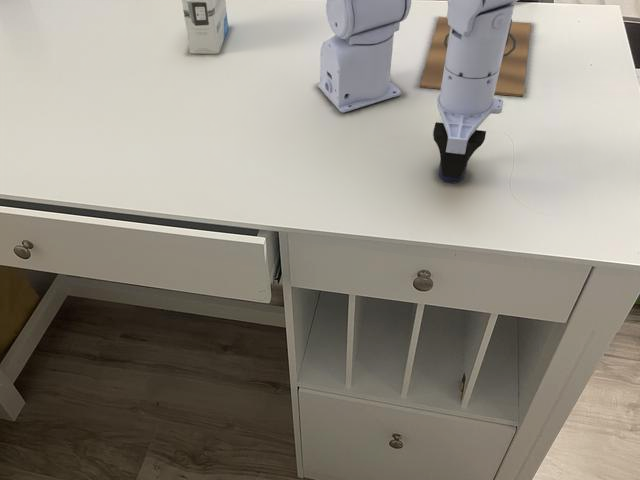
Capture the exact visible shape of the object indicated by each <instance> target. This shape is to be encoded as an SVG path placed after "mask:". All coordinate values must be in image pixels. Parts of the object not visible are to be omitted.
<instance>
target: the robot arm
mask: <svg viewBox="0 0 640 480" xmlns="http://www.w3.org/2000/svg"><path fill="white" fill-rule="evenodd" d="M446 1H447V13H446V18H447V19H448V25H449V26H451V28H450V34H449V40H448V47H447V53H446V60H445V66H444V72H443V79H442V85H441V89H440V92H439V95H438V96H437V100H436V108H437V112H438V114H439V117H440V119H441V121H442V122H435V123H434V126H433V131H432V136H433V141H434V142H435V144H436V146H437V148H438V152H439V157H440V158H439V159H440V160H441V171H442V176H444V177H452V178H460V177H461V175H462V173H463V171H464V169H465V167H466V165H467V166H468V164H469V161H470V158H471V157H472V155H473V154H475V152H476V151H477V150H478V149H479V148H480V147H481V146H482V145H483V143H484V142H485V140H486V134H487V131H486V130H481V129H480V130H479V128H480V126H481V125H482V124H483V123H484V122H485V121H486V119H487V118H488V117H489V116H490V115H492V114H493V115H499V114H501V113H502V112H503V108H504V100H503V99H502V98H498V97H495V94H494V93H495V89H496V84H497V80H498V75H499V71H500V67H501V62H502V58H503V54H504V49H505V45H506V40H507V36H508V31H509V27H510V23H511V18H512V17H513V13H514V9H515V3H516V2H518V1H519V0H446ZM411 6H412V0H326V2H325V10H326V18H327V22H328V25H329V27H330V29H331V31H332V33H333V34H334V35H333V36H332V37H330V38H328V39H326V40H323V42H322V43H321V46H320V55H319V56H320V57H319V59H320V60H319V61H320V63H319V65H320V66H319V69H320V71H319V73H320V74H319V76H320V78H319V80H320V81H319V82H318V84H317V87H318V88H319V89H320V90H321V92H322V93H323V94H324V96H326V97H327V99H328V100H330V102H331V103H332V104H333V105H334V106H335V107H336V109H337V110H339V112H340V113H347V112H350V111H353V110H357V109H360V108H363V107H366V106H369V105H373V104H376V103H380V102H382V101H385V100H389V99H392V98H395V97H399V96H401V95H402V91H401V89H399V88H398V87H397V86H396V85H395V84H394V83H393V82H392V81H391V71H392V70H391V69H392V59H393V58H392V57H393V49H394V48H393V47H394V36H395V33H396V32H398V31H399V30H400V26H401V25H400V24H401V22H404V21H405V20H406V19H407V18H408V16H409V14H410V10H411ZM512 19H513V18H512ZM467 163H468V164H467Z"/></svg>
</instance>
